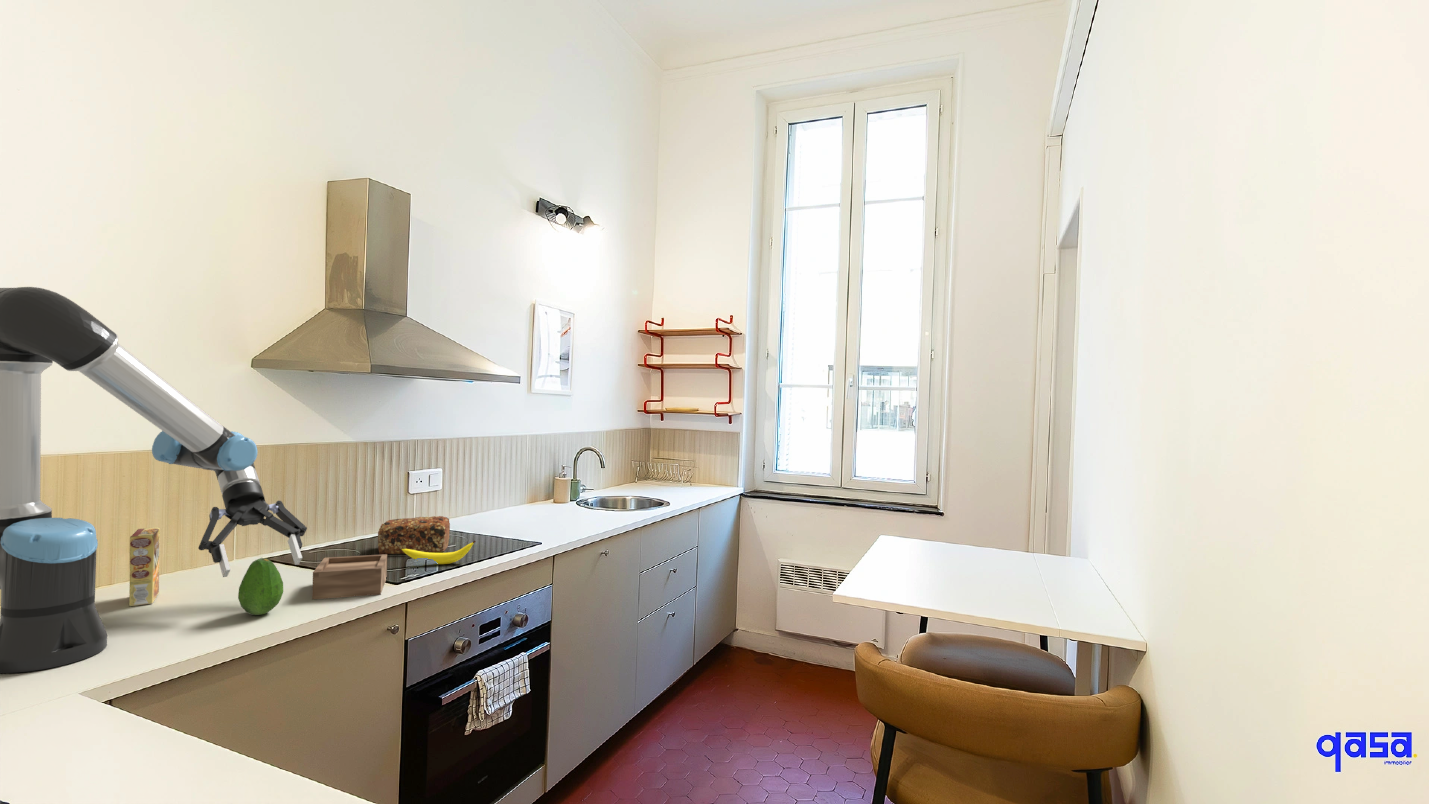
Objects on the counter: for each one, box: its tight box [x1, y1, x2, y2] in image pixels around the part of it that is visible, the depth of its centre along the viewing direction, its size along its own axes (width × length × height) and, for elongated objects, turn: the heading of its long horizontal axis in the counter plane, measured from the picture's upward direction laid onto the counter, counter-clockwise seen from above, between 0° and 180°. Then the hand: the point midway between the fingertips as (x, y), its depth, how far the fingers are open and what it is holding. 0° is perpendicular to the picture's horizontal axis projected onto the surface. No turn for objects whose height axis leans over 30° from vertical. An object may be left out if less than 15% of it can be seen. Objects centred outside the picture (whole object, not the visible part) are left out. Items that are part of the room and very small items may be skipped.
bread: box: [377, 515, 451, 555], centre depth 198 cm, size 19×11×10 cm, turn 103°
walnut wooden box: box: [311, 554, 388, 600], centre depth 159 cm, size 14×14×6 cm
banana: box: [402, 540, 476, 565], centre depth 182 cm, size 3×19×6 cm, turn 111°
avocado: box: [237, 557, 284, 616], centre depth 139 cm, size 8×8×12 cm
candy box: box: [128, 527, 161, 607], centre depth 146 cm, size 9×4×15 cm, turn 33°
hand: (264, 567), depth 143 cm, fingers open, 13 cm apart
